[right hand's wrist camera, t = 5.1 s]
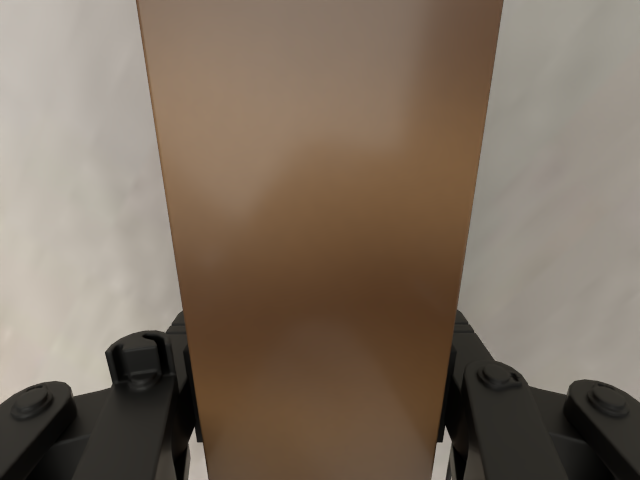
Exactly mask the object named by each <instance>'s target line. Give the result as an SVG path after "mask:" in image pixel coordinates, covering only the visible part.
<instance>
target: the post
mask: <svg viewBox="0 0 640 480" xmlns="http://www.w3.org/2000/svg"><path fill="white" fill-rule="evenodd" d="M136 4H137V10H138V17H139V24H140V30H141V37H142V43H143V50H144V57H145V63H146V70H147V76H148V83H149V90H150V96H151V103H152V109H153V116H154V123H155V129H156V136H157V142H158V149H159V156H160V162H161V169H162V175H163V182H164V189H165V195H166V202H167V208H168V215H169V222H170V228H171V235H172V241H173V248H174V255H175V261H176V268H177V274H178V281H179V288H180V294H181V301H182V307H183V314H184V321H185V327H186V334H187V340H188V347H189V354H190V360H191V367H192V373H193V380H194V387H195V393H196V400H197V406H198V413H199V420H200V426H201V433H202V439H203V446H204V453H205V459H206V466H207V472H208V479H209V480H431V477H432V470H433V464H434V457H435V450H436V444H437V437H438V431H439V424H440V417H441V411H442V404H443V397H444V391H445V384H446V378H447V371H448V364H449V358H450V351H451V344H452V338H453V331H454V325H455V318H456V311H457V305H458V298H459V292H460V285H461V278H462V272H463V265H464V258H465V252H466V245H467V239H468V232H469V225H470V219H471V212H472V205H473V199H474V192H475V186H476V179H477V172H478V166H479V159H480V153H481V146H482V139H483V133H484V126H485V119H486V113H487V106H488V100H489V93H490V86H491V80H492V73H493V66H494V60H495V53H496V47H497V40H498V33H499V27H500V20H501V14H502V7H503V0H136Z"/></svg>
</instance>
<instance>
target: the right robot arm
mask: <svg viewBox="0 0 640 480" xmlns="http://www.w3.org/2000/svg"><path fill="white" fill-rule="evenodd" d="M105 355H106V359H107V363H108V367H109V371H110V375H111V379H112V383H113V384H112V386H111V388H108V389H104V390H101V391H96V392H92V393H87V394H83V395H78V396H74V397H73V393H72V390H71V387H70V386H69V385H67V384H66V383H64V382H58V381H52V382H44V383H40V384H36V385H33V386H30V387H28V388H26V389H24V390H22V391H20V392H18V393H16V394H14V395H12V396H11V397H10V398H8V399H7V400H6V401H4V402H3V403H2V404H1V405H0V480H188V475H189V467H190V450H189V444H188V442H189V439H190V437H191V434H192V432H193V429H194V427H195V431H196V437H197V442H203V439H202V433H201V426H200V420H199V413H198V406H197V400H196V393H195V387H194V380H193V373H192V367H191V360H190V354H189V347H188V340H187V334H186V327H185V321H184V314H183V311H182V312H180V313H179V314H178V315H177V317H176V318H175V320H174V321H173V323H172V326H170V327H169V328H168V330H167V331H166V333H164V332H160V331H156V330H155V331H142V332H137V333H133V334H130V335H128V336H125V337H123V338H121V339H119V340H118V341H116V342H115V343H113V344H112V345H111V346H110V347H109V348H108V349H107V351H106V352H105ZM445 425H446V428H447V430H448V433H449V435H450V438H451V441H452V444H451V450H450V456H449V462H448V468H447V474H446V480H451V476H452V480H640V403H639V402H638V401H637V400H636V399H634V398H633V397H631V396H630V395H629V394H627V393H626V392H624V391H622V390H620V389H618V388H616V387H614V386H612V385H609V384H605V383H603V382H599V381H594V380H585V379H584V380H578V381H574V382H573V383H572V384H571V385H570V386H569V389H568V392H567V395H564V394H560V393H555V392H551V391H546V390H542V389H538V388H534V387H531V386H528V383H527V382H526V380H525V379H524V378H523V376H522V375H521V374H520V373H519V372H517V371H516V370H515V369H513V368H512V367H510V366H508V365H506V364H503V363H501V362H498V361H495V360H494V359H493V357H492V356H491V355H490V353H489V352H488V350H487V349H486V347H485V346H484V344H483V343H482V342H481V340H480V339H479V337H478V336H477V334H476V333H474V330H473V329H472V327H471V326H470V325H468V321H467V320H466V319H465V317H464V316H463V314H462V313H461V312H460V311H458V310H457V311H456V318H455V325H454V331H453V338H452V344H451V351H450V358H449V364H448V371H447V378H446V384H445V391H444V397H443V404H442V411H441V417H440V424H439V431H438V437H437V442H443V436H444V430H445Z"/></svg>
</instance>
